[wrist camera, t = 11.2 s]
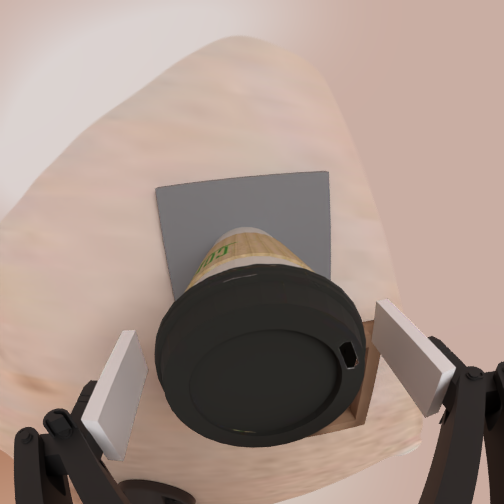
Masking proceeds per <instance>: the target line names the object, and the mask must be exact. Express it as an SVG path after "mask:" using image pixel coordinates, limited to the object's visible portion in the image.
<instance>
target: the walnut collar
mask: <svg viewBox="0 0 504 504" xmlns="http://www.w3.org/2000/svg"><path fill="white" fill-rule="evenodd" d="M362 323H363V326H364V332H365V337H366V353H365V372H364V378H363V381H362V384H361V387H360V390H359V392H358V394H357V395H356V397H355V399H354V400H353V402H352V403H351V404H350V407H348V408H347V409H346V410H345V411H344V412H343V414H342V415H340V416H339V417H338V418H337V419H336V420H334V421H333V422H332V423H331V424H329V425H328V426H326V427H325V428H323V429H321V430H320V431H318V432H316V433H314V434H312V435H310V436H307V437H311V436H316V435H321V434H326V433H330V432H335V431H339V430H344V429H348V428H352V427H356V426H360V425H363V424H365V420H366V416H367V412H368V408H369V404H370V400H371V396H372V392H373V388H374V383H375V378H376V374H377V369H378V364H379V359H380V352H379V351H378V350H377V348H376V347H375V346H374V344H373V343H372V334H373V326H374V320H372V321H366V322H362ZM357 364H358V360H357ZM357 364H356V365H357Z"/></svg>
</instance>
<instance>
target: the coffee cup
mask: <svg viewBox="0 0 504 504" xmlns="http://www.w3.org/2000/svg"><path fill="white" fill-rule="evenodd" d="M365 353H366V337H365V332H364V326H363V323H362V320H361V317H360V315H359V313H358V311H357V309H356V307H355V305H354V303H353V301H352V300H351V299H350V298H349V297H348V295H347V294H346V293H345V292H344V291H343V290H342V288H340V287H339V286H337V285H336V284H335V283H333V282H332V281H330V280H329V279H327V278H326V277H324V276H322V275H320V274H317V273H315V272H314V271H313V270H312V269H311V268H310V267H309V266H307V265H306V264H305V263H304V262H303V261H302V260H301V259H299V258H298V257H297V256H296V255H295V254H294V253H293V252H291V251H290V250H289V249H288V248H287V247H286V246H285V245H283V244H282V243H281V242H279V241H278V240H276V239H275V238H273V237H272V236H271V235H269V234H268V233H266V232H265V231H263V230H260V229H258V228H253V227H240V228H235V229H233V230H230V231H228V232H227V233H225V234H223V235H222V236H221V237H220V238H219V239H218V240H217V241H216V243H215V244H214V246H213V247H212V249H211V250H210V251H209V252H208V254H207V255H206V257H205V258H204V260H203V261H202V263H201V265H200V266H199V268H198V270H197V272H196V273H195V275H194V277H193V278H192V280H191V282H190V284H189V285H188V287H187V289H186V290H185V292H184V294H183V295H182V296H180V297H179V298H178V299H177V300H176V301H175V302H174V303H173V304H172V306H171V307H170V309H169V310H168V312H167V313H166V315H165V316H164V318H163V319H162V322H161V324H160V327H159V330H158V333H157V336H156V344H155V365H156V370H157V376H158V379H159V381H160V383H161V385H162V388H163V390H164V392H165V396H166V399H167V401H168V403H169V405H170V407H171V409H172V411H173V412H174V413H175V414H176V416H177V417H178V418H179V419H180V420H181V421H182V422H183V423H184V424H185V425H187V426H188V427H189V428H190V429H192V430H193V431H195V432H197V433H198V434H200V435H202V436H204V437H206V438H208V439H211V440H214V441H217V442H219V443H223V444H228V445H233V446H239V447H271V446H277V445H282V444H287V443H290V442H294V441H297V440H300V439H303V438H305V437H307V436H310V435H312V434H314V433H316V432H318V431H320V430H321V429H323V428H325V427H326V426H328V425H329V424H331V423H332V422H333V421H334V420H336V419H337V418H338V417H339V416H340V415H342V414H343V412H344V411H345V410H346V409H347V408H348V407H349V406H350V404H351V403H352V402H353V400H354V399H355V397H356V395H357V394H358V392H359V390H360V387H361V384H362V381H363V378H364V372H365ZM356 359H357V360H358V364H357V365H356V366H355V362H356ZM354 366H355V367H354Z"/></svg>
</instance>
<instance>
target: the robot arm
mask: <svg viewBox="0 0 504 504" xmlns="http://www.w3.org/2000/svg"><path fill="white" fill-rule="evenodd" d="M372 343H373V344H374V346H375V347H376V348H377V350H378V351H379V352H380V354H381V355H382V357H383V358H384V359H385V361H386V362H387V364H388V365H389V366H390V368H391V369H392V371H393V372H394V373H395V375H396V376H397V378H398V379H399V380H400V382H401V383H402V385H403V386H404V388H405V389H406V390H407V392H408V393H409V395H410V396H411V398H412V399H413V401H414V402H415V404H416V405H417V406H418V408H419V409H420V411H421V412H422V414H423V415H424V417H425V418H426V417H428V416H430V415H433V414H435V413H437V412H438V411H439V409H440V407H441V405H442V404H443V405H444V406H445V408H446V410H445V412H444V414H443V416H442V418H441V420H440V423H439V424H441V423H442V425H441V429H440V434H439V438H438V442H437V446H436V450H435V454H434V457H433V461H432V464H431V468H430V471H429V474H428V477H427V481H426V484H425V487H424V489H423V492H422V495H421V498H420V501H419V503H418V504H472V500H473V495H474V491H475V486H476V481H477V475H478V469H479V464H480V457H481V450H482V441H483V436H484V441H485V448H486V456H487V464H488V474H489V484H490V504H504V362H501V363H499V364H498V366H497V368H496V371H493V372H486V373H484V372H483V371H482V370H481V369H479V368H477V367H474V366H470V367H469V366H468V367H466V366H465V364H463V362H462V361H461V360H460V359H459V358H458V357H457V356H456V355H455V354H454V353H453V352H451V351H450V349H449V348H447V347H446V345H445V344H444V343H443V342H442V341H441V340H439V339H437V338H435V337H433V336H431V337H426V336H425V335H424V334H423V333H422V332H421V331H420V330H419V329H418V328H417V327H416V326H415V325H414V324H413V323H412V322H411V321H410V320H409V319H408V318H407V317H406V316H405V315H404V314H403V313H402V312H401V311H400V310H399V309H398V308H397V307H396V306H395V305H394V304H393V303H392V302H391V301H390V300H389V299H384V300H379V301H376V309H375V318H374V326H373V334H372ZM147 373H148V367H147V364H146V361H145V358H144V355H143V352H142V349H141V346H140V343H139V340H138V336H137V333H136V330H124V331H122V333H121V335H120V337H119V339H118V341H117V343H116V345H115V347H114V349H113V351H112V353H111V355H110V357H109V359H108V361H107V363H106V365H105V367H104V369H103V371H102V374H101V376H100V378H99V380H98V381H92V380H91V381H90V382H89V383H88V384H87V385H85V386H84V388H83V390H82V392H81V394H80V396H79V398H78V400H77V402H76V404H75V406H74V408H73V410H72V413H71V415H70V414H69V412H68V411H67V410H65V409H54V410H52V411H50V412H48V413H47V414H46V415H45V417H44V419H43V425H44V427H45V428H46V430H47V431H48V432H49V434H40V435H39V433H38V432H37V431H36V430H35V429H34V428H32V427H25V428H23V429H21V430H20V431H18V433H17V434H16V436H15V441H14V485H15V500H16V504H73V502H72V497H71V493H70V488H69V482H68V477H67V475H69V477H70V479H71V481H72V483H73V485H74V487H75V489H76V491H77V493H78V495H79V497H80V499H81V501H82V502H83V504H195V503H196V502H195V499H194V498H193V497H192V496H191V495H190V494H188V493H187V492H185V491H183V490H180V489H178V488H175V487H172V486H169V485H165V484H161V483H157V482H151V481H144V480H127V481H123V482H121V483H119V484H117V483H116V481H115V480H114V478H113V477H112V475H111V474H110V472H109V471H108V469H107V468H106V466H105V464H104V463H103V461H102V460H101V457H102V453H104V455H105V456H106V457H107V459H108V460H116V461H124V458H125V454H126V450H127V446H128V442H129V438H130V434H131V430H132V426H133V422H134V419H135V415H136V411H137V408H138V404H139V400H140V397H141V393H142V390H143V386H144V383H145V380H146V376H147Z"/></svg>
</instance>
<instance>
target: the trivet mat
mask: <svg viewBox="0 0 504 504" xmlns="http://www.w3.org/2000/svg"><path fill="white" fill-rule="evenodd" d="M156 197H157V204H158V210H159V217H160V223H161V229H162V235H163V241H164V247H165V252H166V258H167V263H168V269H169V274H170V279H171V284H172V289H173V293H174V298H175V301H176V300H177V299H178V298H179V297H180V296H182V295H183V294H184V292H185V290H186V289H187V287H188V285H189V284H190V282H191V280H192V278H193V277H194V275H195V273H196V272H197V270H198V268H199V266H200V265H201V263H202V261H203V260H204V258H205V257H206V255H207V254H208V252H209V251H210V250H211V249H212V247H213V246H214V244H215V243H216V241H217V240H218V239H219V238H220V237H221V236H222V235H223V234H225V233H227V232H228V231H230V230H233V229H235V228H240V227H253V228H258V229H260V230H263V231H265V232H266V233H268V234H269V235H271V236H272V237H273V238H275V239H276V240H278V241H279V242H281V243H282V244H283V245H285V246H286V247H287V248H288V249H289V250H290V251H291V252H293V253H294V254H295V255H296V256H297V257H298V258H299V259H301V260H302V261H303V262H304V263H305V264H306V265H307V266H309V267H310V268H311V269H312V270H313V271H314V272H315V273H317V274H320V275H322V276H324V277H326V278H327V279H329V280H330V281H331V225H330V190H329V172H327V171H316V172H299V173H284V174H271V175H259V176H248V177H237V178H228V179H218V180H210V181H201V182H193V183H185V184H178V185H171V186H164V187H158V188H156Z"/></svg>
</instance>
